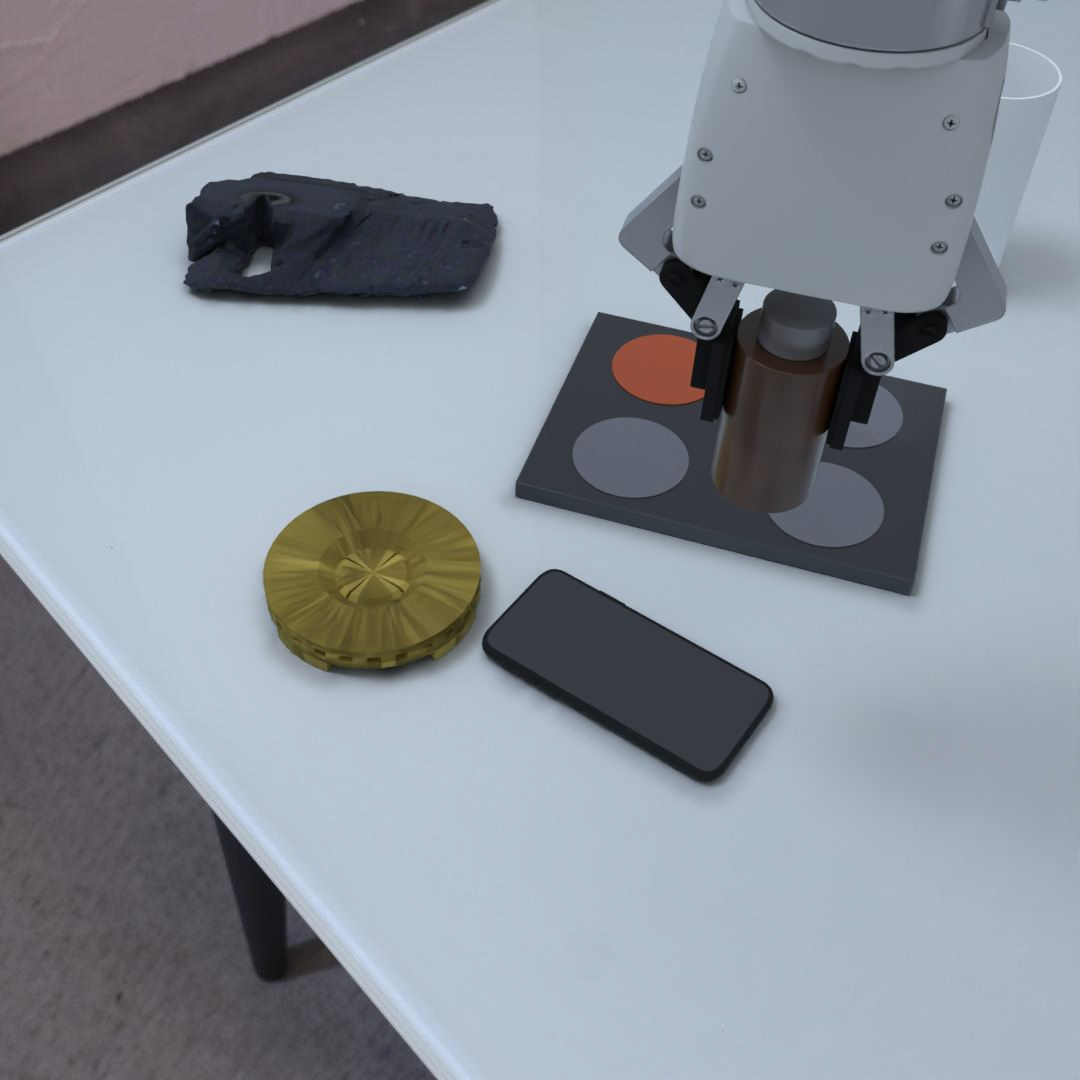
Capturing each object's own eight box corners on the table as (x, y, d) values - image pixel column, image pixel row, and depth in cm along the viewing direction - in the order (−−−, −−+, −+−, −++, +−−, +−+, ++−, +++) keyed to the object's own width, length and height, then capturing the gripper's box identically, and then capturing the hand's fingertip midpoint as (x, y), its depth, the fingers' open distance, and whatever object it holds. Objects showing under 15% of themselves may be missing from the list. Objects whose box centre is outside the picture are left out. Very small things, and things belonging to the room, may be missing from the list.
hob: (942, 402, 87) (947, 387, 86) (909, 595, 75) (915, 580, 74) (597, 325, 92) (598, 310, 91) (514, 496, 80) (515, 481, 79)
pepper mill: (820, 454, 57) (865, 285, 51) (805, 524, 54) (851, 353, 48) (721, 433, 58) (753, 263, 51) (701, 500, 55) (732, 329, 49)
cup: (879, 234, 101) (930, 33, 89) (987, 245, 100) (1054, 44, 88) (883, 297, 95) (939, 92, 83) (998, 310, 94) (1071, 105, 83)
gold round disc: (493, 665, 71) (493, 640, 69) (269, 688, 70) (264, 663, 68) (467, 508, 79) (467, 482, 78) (266, 526, 78) (261, 500, 76)
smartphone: (714, 784, 65) (472, 641, 71) (711, 794, 66) (472, 652, 71) (782, 688, 70) (550, 560, 75) (779, 698, 70) (549, 571, 76)
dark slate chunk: (472, 332, 91) (472, 275, 87) (166, 296, 93) (153, 238, 89) (508, 210, 101) (509, 155, 98) (232, 180, 103) (223, 124, 99)
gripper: (1156, -39, 41) (990, 400, 55) (637, -117, 44) (599, 319, 58) (1165, 70, 36) (979, 523, 50) (579, -26, 39) (552, 428, 53)
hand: (776, 410), depth 53 cm, fingers closed on pepper mill, 4 cm apart
